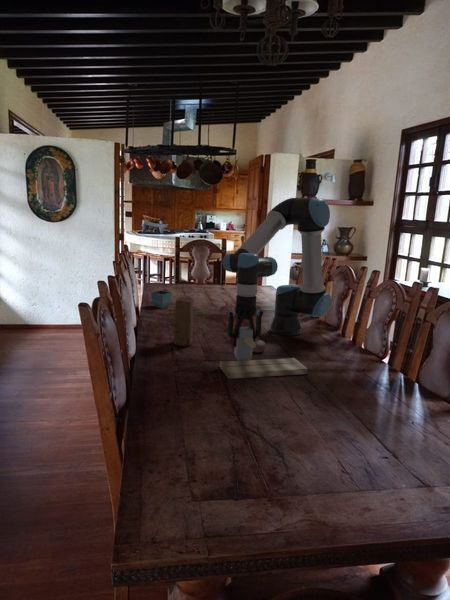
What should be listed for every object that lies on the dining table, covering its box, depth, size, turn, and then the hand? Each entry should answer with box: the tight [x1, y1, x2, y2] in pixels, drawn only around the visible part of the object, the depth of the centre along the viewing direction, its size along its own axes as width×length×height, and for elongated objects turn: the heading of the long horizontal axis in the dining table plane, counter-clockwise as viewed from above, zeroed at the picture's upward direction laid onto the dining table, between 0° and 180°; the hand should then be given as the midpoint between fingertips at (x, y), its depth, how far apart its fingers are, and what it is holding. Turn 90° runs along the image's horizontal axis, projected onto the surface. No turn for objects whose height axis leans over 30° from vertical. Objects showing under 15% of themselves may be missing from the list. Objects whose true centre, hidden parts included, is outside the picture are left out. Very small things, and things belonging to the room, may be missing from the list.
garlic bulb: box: [252, 336, 266, 353], centre depth 190 cm, size 8×7×8 cm
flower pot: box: [150, 289, 173, 309], centre depth 263 cm, size 9×9×9 cm
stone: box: [173, 296, 194, 347], centre depth 194 cm, size 11×8×20 cm
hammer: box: [234, 326, 256, 361], centre depth 170 cm, size 5×13×12 cm, turn 16°
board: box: [219, 357, 309, 379], centre depth 167 cm, size 30×12×2 cm, turn 105°
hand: (243, 354), depth 174 cm, fingers closed on hammer, 5 cm apart
